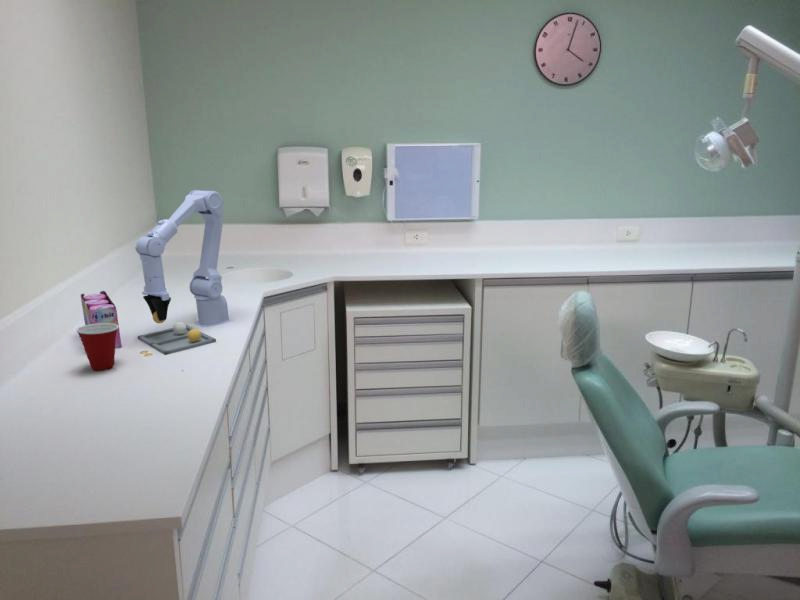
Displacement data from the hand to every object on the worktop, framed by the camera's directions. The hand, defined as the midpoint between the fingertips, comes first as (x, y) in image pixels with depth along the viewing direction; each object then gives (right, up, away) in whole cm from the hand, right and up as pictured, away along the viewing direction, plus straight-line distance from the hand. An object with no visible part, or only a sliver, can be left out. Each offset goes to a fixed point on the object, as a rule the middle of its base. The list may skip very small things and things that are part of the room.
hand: (159, 318), depth 212 cm
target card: (0, -10, -11) cm, 15 cm away
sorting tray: (+5, -7, 0) cm, 9 cm away
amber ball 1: (0, -1, 0) cm, 1 cm away
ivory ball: (+5, -5, +5) cm, 9 cm away
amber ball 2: (+12, -7, -2) cm, 14 cm away
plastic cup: (-9, -13, -20) cm, 25 cm away
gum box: (-19, -7, +3) cm, 20 cm away
